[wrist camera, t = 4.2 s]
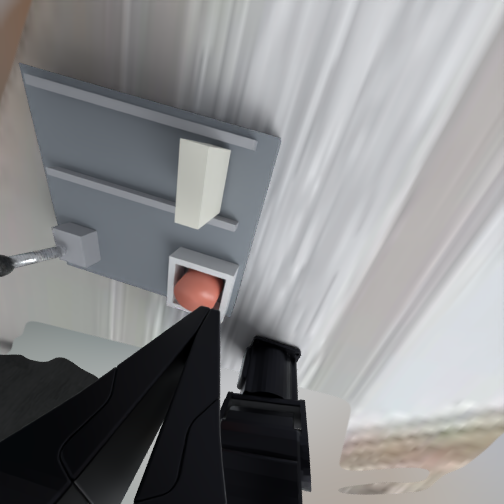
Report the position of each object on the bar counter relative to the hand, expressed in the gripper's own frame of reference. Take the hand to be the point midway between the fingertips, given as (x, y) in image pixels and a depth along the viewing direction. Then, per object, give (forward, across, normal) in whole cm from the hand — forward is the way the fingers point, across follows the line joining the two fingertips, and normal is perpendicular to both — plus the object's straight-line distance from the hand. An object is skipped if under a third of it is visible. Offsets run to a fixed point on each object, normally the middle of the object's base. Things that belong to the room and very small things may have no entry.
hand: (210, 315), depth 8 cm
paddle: (+10, +4, -4) cm, 11 cm away
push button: (+10, +4, +6) cm, 12 cm away
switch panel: (+12, +10, +1) cm, 16 cm away
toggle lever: (+8, +17, +6) cm, 20 cm away
